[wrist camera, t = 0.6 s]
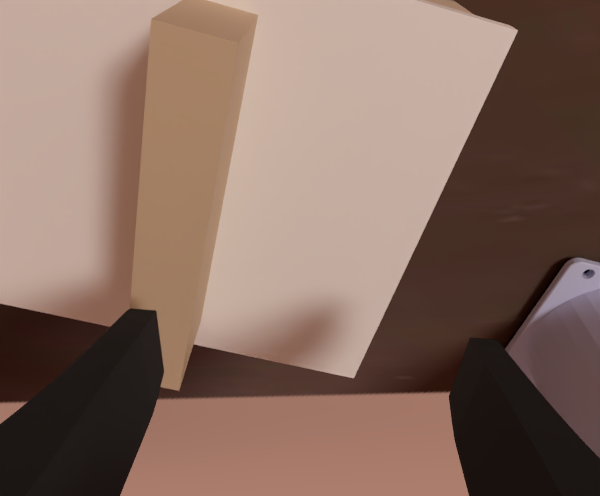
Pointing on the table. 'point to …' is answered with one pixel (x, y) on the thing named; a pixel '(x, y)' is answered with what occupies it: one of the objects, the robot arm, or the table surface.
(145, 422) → the robot arm
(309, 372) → the table surface
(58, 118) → the lid
